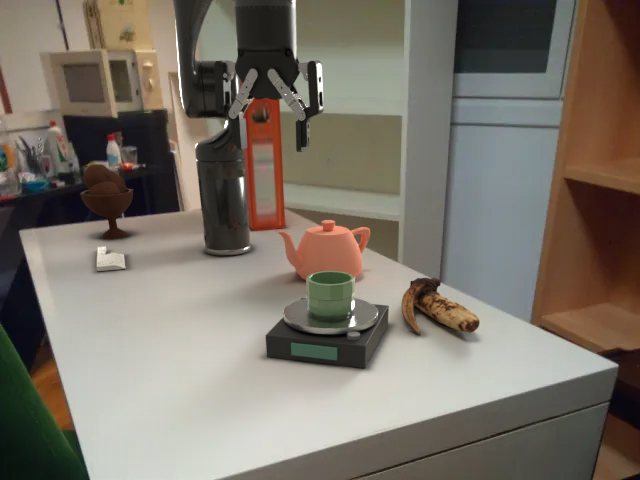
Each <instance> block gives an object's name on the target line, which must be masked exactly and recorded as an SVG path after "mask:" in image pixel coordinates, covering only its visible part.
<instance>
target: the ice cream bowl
mask: <svg viewBox="0 0 640 480" xmlns="http://www.w3.org/2000/svg"><path fill="white" fill-rule="evenodd" d="M82 180H83V184H85V186H86V188H87V189H85V190H83V191H81V192H80V193H79V196H80V198H81V200H82V202H83V203H84V205H85V206H86V208H88V209H89V210H90V211H92V213H95V214H96V215H97V216H101V217H103V218H105V219H106V220H107V222H108V229H107V230H105V231H104V232H103V233H102V235H101V238H103V239H106V240H117V239H123V238H126V237H128V233H127V232H126V231H125V230H124V229H121V228H119V227H118V224H117V223H118V222H117V219H118V217H119V216H121V215H122V214H124V213H125V212H126V211H127V209H129V207H130V205H131V204H132V202H133V197H134V188H133V189H132V188H128V187H127V186H126V180H125V179H124V177H122V176H121V175H120V174H118V173H117V172H116V171H115V172H114V171H112V170H110V169H109V168H108V167H106V166H105V165H103V164H98V163H95V164H91V165H89V166H87V167H86V168H85V170H84V171H83V175H82Z"/></svg>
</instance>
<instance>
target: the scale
mask: <svg viewBox="0 0 640 480" xmlns="http://www.w3.org/2000/svg"><path fill="white" fill-rule="evenodd" d="M305 298H306V297H301V298H300V299H299V300H301V299H305ZM371 304H372V305H374V306H375V307H376V308H377V310H378V319H377V321H376V323H375V324H374V325H372V326H371V327H369V328H367V329H364V330H361V331H357V332H355V331H352V332H348V333H347V334H334V335H327V334H314V333H308V332H304V331H300V330H297V329H294V328H292V327H291V326H289V325H288V324H286V322H285V321H284V316H282V318H281V319H280V320H279V321H278V322H277V323H276V324H274V326H273V327H272V328H271V329H270V330H269V331H268V332H267V333H266V334H265V350H266V351H265V352H266V358H272V359H273V358H274V359H284V360H292V361H299V362H308V363H317V364H325V365H332V366H333V365H334V366H342V367H352V368H357V369H359V368H360V369H366V368H367V365H368V363H369V362H370V359H372V356H373V354H374V352H375V350H376V348H377V346H378V345H379V343H380V341H381V338H382V337H383V335H384V333H385V331H386V330H387V327H388V326H389V313H390V312H389V309H390V308H389V307H390V306H389V304H388V305H387V304H375V303H371Z"/></svg>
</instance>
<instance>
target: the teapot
mask: <svg viewBox="0 0 640 480" xmlns="http://www.w3.org/2000/svg"><path fill="white" fill-rule="evenodd" d="M320 222H321V223H320V224H321V225H316V226H311V227H308V228H307V229H306V230H305V232H304V233H303V234H302V237H301V238H300V241H299V243H298V245H297V248H296V247H295V244H294V240H293V237H292V235H291V234H290V233H289V232H288V231H285V230H275V232H276V233H278V234H279V235H280V236H281V238H282V239H283V241H284V247H285V248H284V249H285V255H286V259H287V261H288V263H289V264H290V265H291V266H292V267H294V270H295V272H296V273H297V274H298V275H299V277H300V278H301V279H303V280H304V281H306V278H307V277H308V276H309V275H310V274H313V273H316V272H322V271H340V272H345V273H349V274H352V275H353V276H354V277H355V280H356V279H357V278H358V276H359V275H360V274H361V272H362V271H363V268H364V264H363V255H362V254H363V252H364V250H365V248H366V247H367V245H368V244H369V241H370V237H371V229H370V228H369V227H367V226H362V227H358V228H354V229H352V230H350V229H349V228H348V227H345V226H341V225H336V220H333V219H324V220H321V221H320ZM357 235H361V237H360V241H359V244H358V242H357V239H356V238H355V236H357Z"/></svg>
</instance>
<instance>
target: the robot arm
mask: <svg viewBox="0 0 640 480" xmlns="http://www.w3.org/2000/svg"><path fill="white" fill-rule="evenodd" d="M213 2H214V0H172V6H173V7H172V8H173V14H174V16H173V17H174V25H175V37H176V38H175V39H176V51H177V52H176V53H177V65H178V80H179V81H178V82H179V91H180V97H181V98H180V99H181V104H182V108H183V111H184V114H185V115H186V117H188V118H189V119H191V120H224V121H225V123H224V125H223V127H222V128H221V129H220V130H219V131H218V132H216V133H215V134H214V135H212V136H210V137H207V138H205V139H203V140H200V141H198V142H197V143H196V144H195V146H194V154H195V163H196V171H197V172H196V173H197V181H198V191H199V199H200V209H201V220H202V228H203V240H204V252H206V253H207V254H210V255H213V256H237V255H242V254H246V253H248V252H250V251H251V250H252V242H251V231H250V226H249V214H248V199H247V184H246V171H245V159H244V158H245V156H244V149H246V148H247V133H246V118H243V115H244V113H245V111H246V110H247V108H248V106H249V105H250V103H251V102H252V101H253V99H254V98H255V99H256V100H261V99H266V98H268V99H271V100H283V101H284V102H285V104H286V105H287V106H288V107H289V108H290V110H291V111H292V112H293V114H294V115H295V117H296V119H297V120H296V121H295V150H296V153H303V152H306V149H307V148H308V147H309V146H310V143H311V120H312V118H313V117H315V116H318V115H320V114H322V113H324V111H325V103H324V83H323V81H324V80H323V64H322V62H321V60H310V61H308V62H300V60H299V58H298V54H297V53H298V51H297V49H298V42H297V0H232V3H233V12H234V26H235V27H234V29H235V42H236V45H235V46H236V51H237V56H236V60H235V61H233V60H226V59H225V60H224V59H221V60H220V59H219V60H197V59H196V52H197V46H198V42H199V37H200V34H201V30H202V27H203V25H204V22H205V19H206V16H207V14H208V12H209V10H210V8H211V6H212V5H213V4H212V3H213ZM300 74H302V76H303V77H302V78H303V79H304V81H306V82H307V85H308V87H307V88H308V100H309V101H308V102H309V106H308V105H307V104H306V103H305V101H304V98H303V96H302V94H301V92H300V91H299V90H298V88H297V86H296V84H295V83H296V81H297V80H298V77H299V75H300ZM241 81H242V83H243V84H242V86H241Z"/></svg>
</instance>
